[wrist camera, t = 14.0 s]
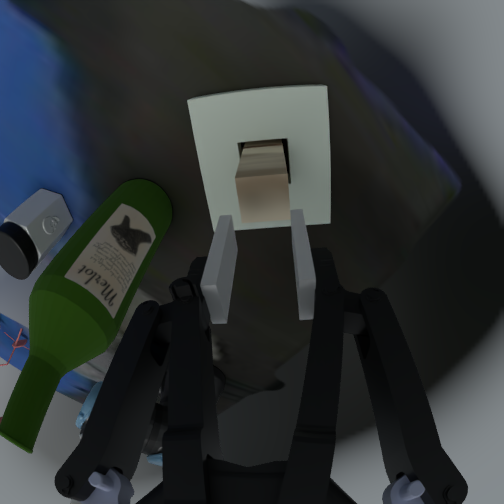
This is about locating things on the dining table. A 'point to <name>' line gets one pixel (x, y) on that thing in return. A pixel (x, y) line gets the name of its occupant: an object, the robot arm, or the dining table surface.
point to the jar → (32, 232)
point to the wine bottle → (85, 298)
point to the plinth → (264, 128)
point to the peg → (263, 182)
